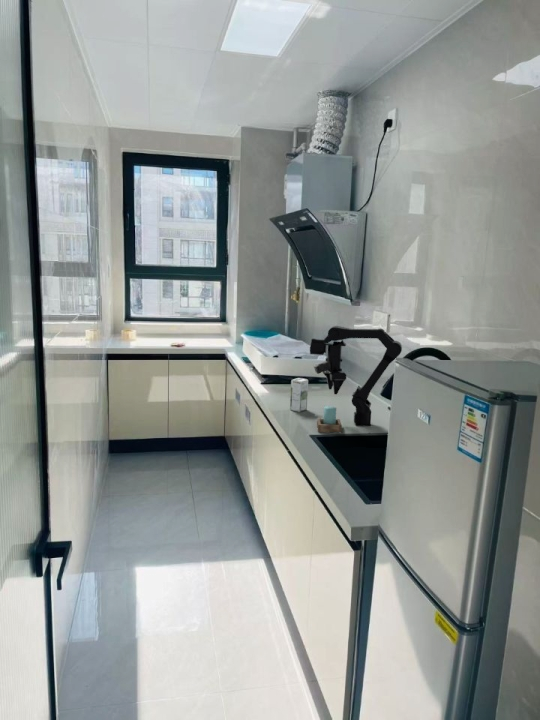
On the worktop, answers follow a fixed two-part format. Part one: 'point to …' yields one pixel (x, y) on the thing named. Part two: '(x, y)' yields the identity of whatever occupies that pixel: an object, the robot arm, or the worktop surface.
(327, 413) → the peg
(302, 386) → the syrup box
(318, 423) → the collar
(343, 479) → the worktop surface
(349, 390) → the worktop surface
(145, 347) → the worktop surface
